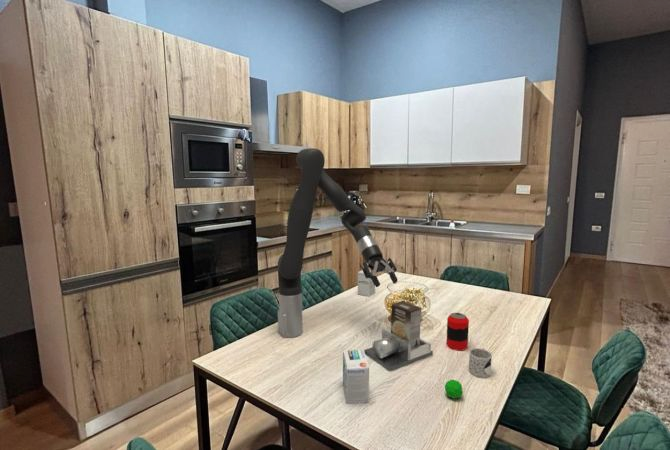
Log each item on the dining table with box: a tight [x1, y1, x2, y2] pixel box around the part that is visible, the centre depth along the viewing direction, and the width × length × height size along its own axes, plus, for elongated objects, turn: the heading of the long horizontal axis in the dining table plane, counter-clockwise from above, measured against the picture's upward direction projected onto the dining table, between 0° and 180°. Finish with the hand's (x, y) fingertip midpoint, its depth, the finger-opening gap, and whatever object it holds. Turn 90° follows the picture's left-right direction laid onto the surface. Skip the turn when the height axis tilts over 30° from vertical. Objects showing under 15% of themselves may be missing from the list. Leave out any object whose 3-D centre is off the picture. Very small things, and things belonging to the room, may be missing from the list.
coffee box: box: [390, 300, 422, 350], centre depth 128 cm, size 9×6×16 cm
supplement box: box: [357, 269, 376, 298], centre depth 192 cm, size 7×7×13 cm
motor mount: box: [363, 328, 434, 372], centre depth 127 cm, size 20×14×8 cm
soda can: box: [445, 312, 470, 351], centre depth 133 cm, size 8×8×12 cm
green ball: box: [444, 379, 464, 399], centre depth 103 cm, size 5×5×5 cm
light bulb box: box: [342, 349, 370, 404], centre depth 105 cm, size 11×7×11 cm, turn 5°
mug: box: [468, 347, 493, 379], centre depth 117 cm, size 10×7×7 cm
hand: (387, 284), depth 135 cm, fingers open, 8 cm apart
